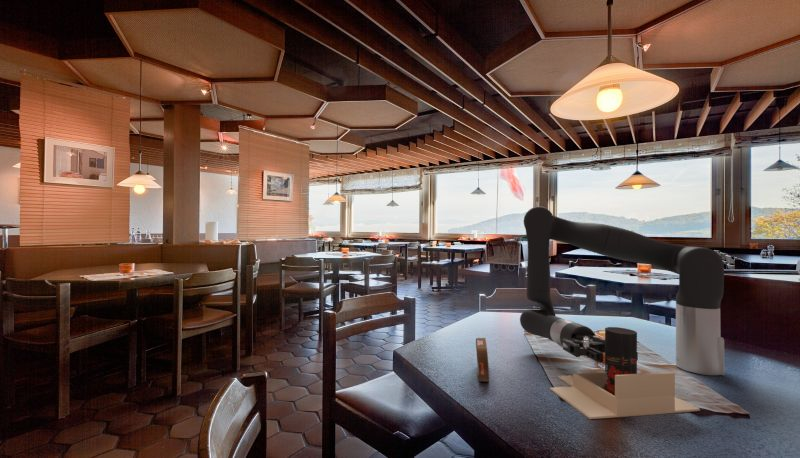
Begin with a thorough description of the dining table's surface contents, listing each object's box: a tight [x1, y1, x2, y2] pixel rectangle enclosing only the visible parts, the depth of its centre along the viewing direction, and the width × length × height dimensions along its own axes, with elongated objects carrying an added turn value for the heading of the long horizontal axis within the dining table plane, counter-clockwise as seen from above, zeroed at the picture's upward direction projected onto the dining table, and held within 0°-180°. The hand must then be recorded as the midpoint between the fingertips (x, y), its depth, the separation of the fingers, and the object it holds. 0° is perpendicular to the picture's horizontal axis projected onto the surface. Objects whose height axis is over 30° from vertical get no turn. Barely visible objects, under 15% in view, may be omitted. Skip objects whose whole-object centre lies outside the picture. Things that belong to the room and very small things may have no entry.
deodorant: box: [604, 326, 638, 396], centre depth 76 cm, size 6×6×15 cm
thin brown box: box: [475, 337, 490, 383], centre depth 89 cm, size 15×3×8 cm, turn 168°
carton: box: [549, 370, 701, 420], centre depth 79 cm, size 19×25×8 cm
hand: (619, 357), depth 76 cm, fingers open, 8 cm apart
